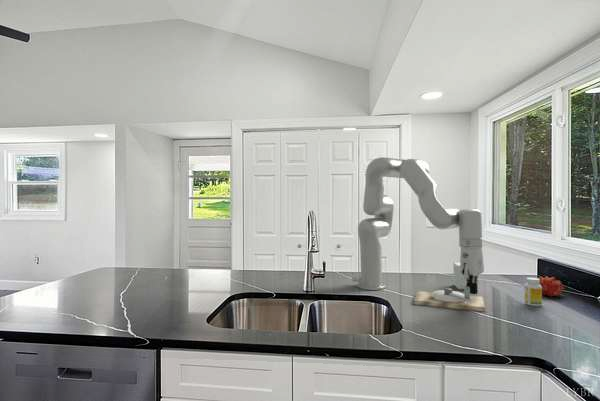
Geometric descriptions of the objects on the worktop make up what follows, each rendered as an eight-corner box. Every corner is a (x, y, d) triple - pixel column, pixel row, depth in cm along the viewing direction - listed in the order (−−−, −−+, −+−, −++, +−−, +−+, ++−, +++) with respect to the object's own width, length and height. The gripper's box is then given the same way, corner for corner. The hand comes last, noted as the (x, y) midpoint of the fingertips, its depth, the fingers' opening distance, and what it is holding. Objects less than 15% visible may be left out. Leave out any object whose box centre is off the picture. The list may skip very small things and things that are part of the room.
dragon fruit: (530, 298, 142) (561, 303, 141) (542, 291, 135) (574, 295, 134) (525, 279, 147) (555, 283, 146) (537, 271, 140) (568, 275, 139)
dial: (425, 295, 138) (425, 279, 138) (450, 292, 141) (449, 276, 141) (455, 307, 122) (455, 289, 122) (482, 303, 126) (482, 286, 126)
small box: (471, 289, 152) (471, 265, 152) (457, 289, 153) (457, 265, 153) (466, 285, 160) (466, 262, 160) (453, 284, 161) (453, 262, 161)
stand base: (413, 304, 133) (413, 299, 133) (417, 294, 145) (417, 290, 145) (484, 311, 122) (484, 306, 122) (482, 300, 135) (482, 296, 135)
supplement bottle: (521, 303, 131) (521, 278, 131) (530, 301, 133) (529, 276, 133) (536, 307, 126) (536, 280, 126) (545, 305, 129) (544, 279, 129)
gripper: (473, 245, 119) (475, 299, 119) (489, 241, 129) (490, 291, 129) (451, 244, 124) (453, 295, 124) (468, 240, 134) (469, 287, 134)
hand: (472, 293), depth 126 cm, fingers closed
